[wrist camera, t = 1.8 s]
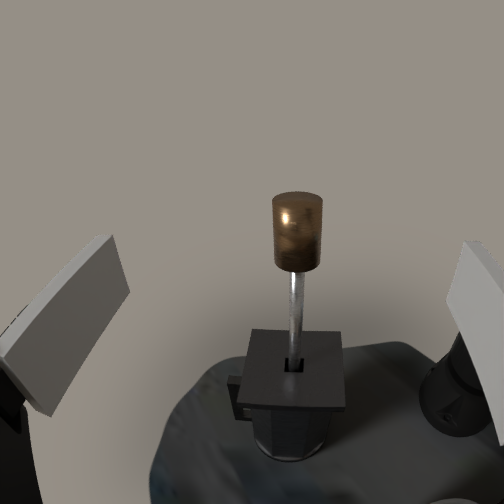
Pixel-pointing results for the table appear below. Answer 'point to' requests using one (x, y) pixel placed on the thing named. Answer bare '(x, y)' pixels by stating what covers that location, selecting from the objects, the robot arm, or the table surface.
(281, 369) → the press carafe
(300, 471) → the table surface
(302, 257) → the plunger
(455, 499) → the reusable coffee cup
